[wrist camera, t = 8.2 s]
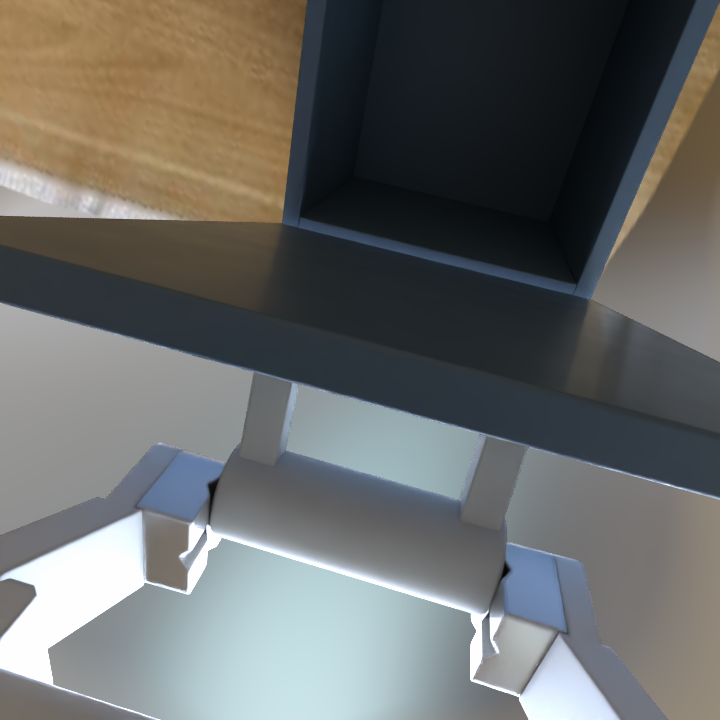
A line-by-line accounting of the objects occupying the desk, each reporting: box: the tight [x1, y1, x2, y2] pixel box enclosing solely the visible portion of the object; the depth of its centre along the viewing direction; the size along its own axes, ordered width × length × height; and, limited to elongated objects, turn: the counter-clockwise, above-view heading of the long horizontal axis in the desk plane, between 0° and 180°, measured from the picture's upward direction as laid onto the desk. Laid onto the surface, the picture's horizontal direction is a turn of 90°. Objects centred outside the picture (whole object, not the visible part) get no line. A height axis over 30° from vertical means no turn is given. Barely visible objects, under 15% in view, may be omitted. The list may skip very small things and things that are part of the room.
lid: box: [0, 216, 720, 615], centre depth 16 cm, size 18×15×5 cm
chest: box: [282, 0, 720, 299], centre depth 26 cm, size 18×15×13 cm
